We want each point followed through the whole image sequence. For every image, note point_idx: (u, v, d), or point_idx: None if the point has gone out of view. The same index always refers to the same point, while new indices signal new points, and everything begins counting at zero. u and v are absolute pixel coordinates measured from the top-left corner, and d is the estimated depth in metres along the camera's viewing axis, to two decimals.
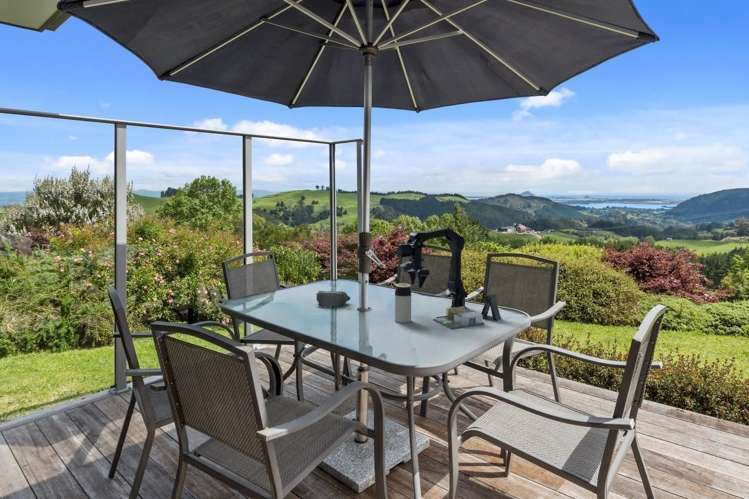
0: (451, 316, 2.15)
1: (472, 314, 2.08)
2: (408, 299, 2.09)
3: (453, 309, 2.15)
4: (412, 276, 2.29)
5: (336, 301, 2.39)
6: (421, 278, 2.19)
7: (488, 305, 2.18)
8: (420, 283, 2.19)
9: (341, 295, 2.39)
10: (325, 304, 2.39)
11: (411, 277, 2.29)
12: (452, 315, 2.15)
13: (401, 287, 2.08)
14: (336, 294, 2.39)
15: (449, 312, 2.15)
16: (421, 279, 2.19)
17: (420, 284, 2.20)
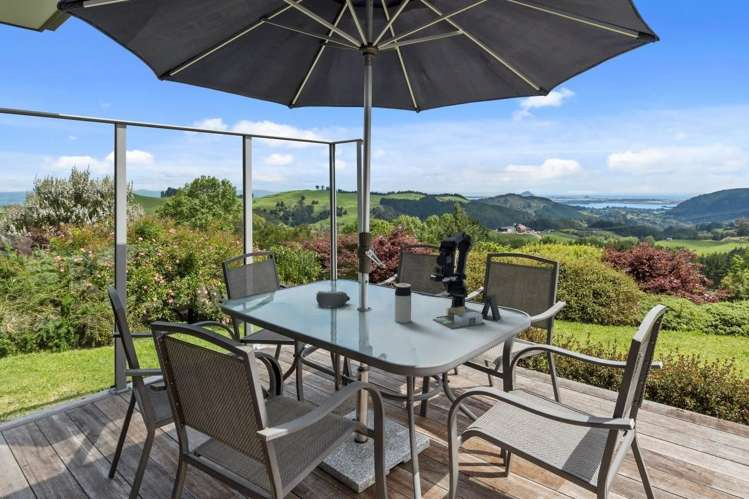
0: (451, 316, 2.15)
1: (472, 314, 2.08)
2: (408, 299, 2.09)
3: (453, 309, 2.15)
4: None
5: (336, 301, 2.38)
6: (446, 283, 2.21)
7: (488, 305, 2.18)
8: (445, 288, 2.22)
9: (341, 295, 2.38)
10: (325, 304, 2.39)
11: None
12: (452, 315, 2.15)
13: (401, 287, 2.08)
14: (336, 294, 2.38)
15: (449, 312, 2.15)
16: (446, 284, 2.21)
17: (446, 289, 2.22)
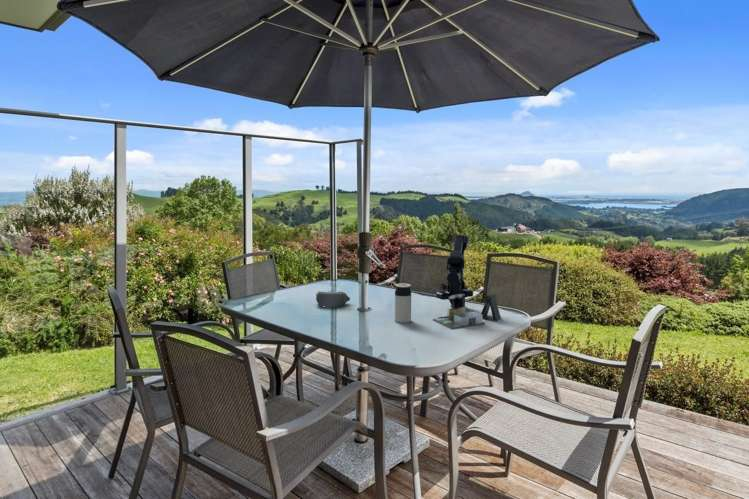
0: (452, 316, 2.15)
1: (472, 314, 2.08)
2: (408, 299, 2.09)
3: (454, 309, 2.15)
4: None
5: (336, 302, 2.38)
6: (452, 301, 2.17)
7: (488, 305, 2.18)
8: (452, 306, 2.17)
9: (341, 295, 2.38)
10: (325, 305, 2.38)
11: None
12: (453, 316, 2.15)
13: (401, 287, 2.08)
14: (336, 294, 2.38)
15: (450, 312, 2.14)
16: (452, 302, 2.17)
17: (452, 307, 2.17)
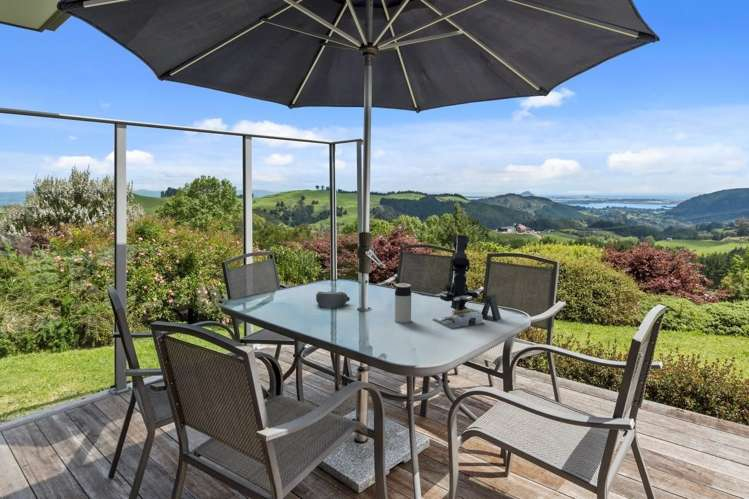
0: None
1: (472, 314, 2.08)
2: (408, 299, 2.09)
3: (459, 311, 2.11)
4: None
5: (336, 302, 2.37)
6: (456, 303, 2.13)
7: (488, 305, 2.18)
8: (456, 307, 2.14)
9: (341, 296, 2.37)
10: (325, 305, 2.38)
11: None
12: None
13: (401, 287, 2.08)
14: (336, 295, 2.37)
15: None
16: (456, 304, 2.13)
17: (457, 308, 2.14)
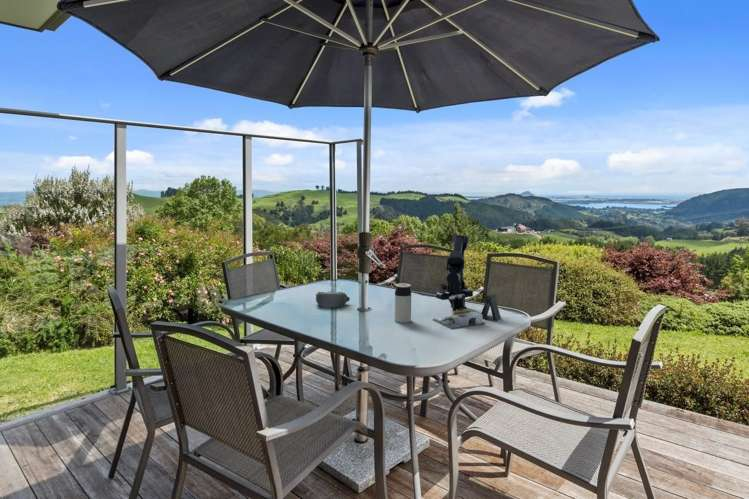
0: None
1: (472, 314, 2.08)
2: (408, 299, 2.09)
3: (459, 311, 2.11)
4: None
5: (336, 302, 2.37)
6: (452, 301, 2.17)
7: (488, 305, 2.18)
8: (452, 306, 2.18)
9: (341, 296, 2.37)
10: (325, 305, 2.37)
11: None
12: None
13: (401, 287, 2.08)
14: (336, 295, 2.37)
15: None
16: (452, 302, 2.17)
17: (452, 307, 2.18)
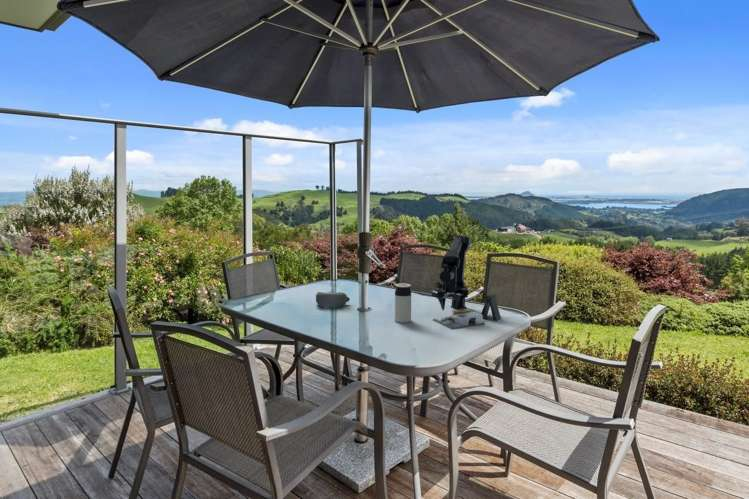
0: None
1: (472, 314, 2.08)
2: (408, 299, 2.09)
3: (459, 311, 2.11)
4: (456, 300, 2.23)
5: (336, 302, 2.36)
6: (441, 300, 2.19)
7: (488, 305, 2.18)
8: (441, 305, 2.19)
9: (341, 296, 2.36)
10: (325, 305, 2.37)
11: (456, 300, 2.23)
12: None
13: (401, 287, 2.08)
14: (336, 295, 2.36)
15: None
16: (441, 301, 2.19)
17: (441, 306, 2.19)
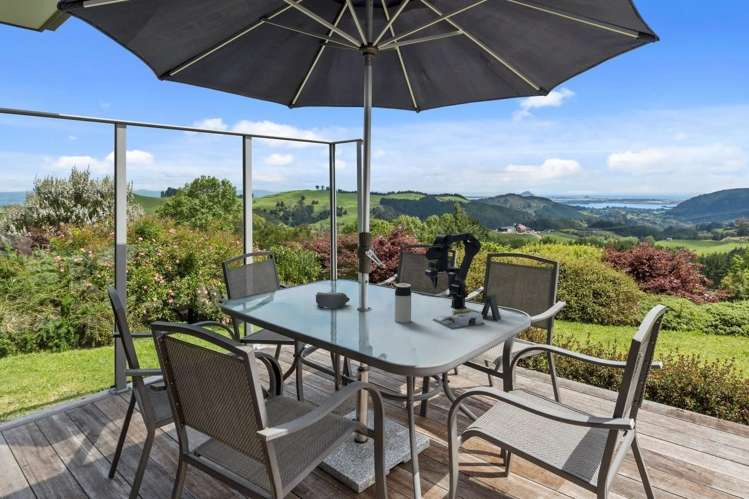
0: None
1: (472, 314, 2.08)
2: (408, 299, 2.09)
3: (459, 311, 2.11)
4: (449, 278, 2.30)
5: (336, 303, 2.36)
6: (433, 279, 2.25)
7: (488, 305, 2.18)
8: (433, 283, 2.26)
9: (341, 296, 2.36)
10: (325, 306, 2.36)
11: (449, 279, 2.31)
12: None
13: (401, 287, 2.08)
14: (336, 295, 2.36)
15: None
16: (433, 280, 2.25)
17: (433, 284, 2.26)
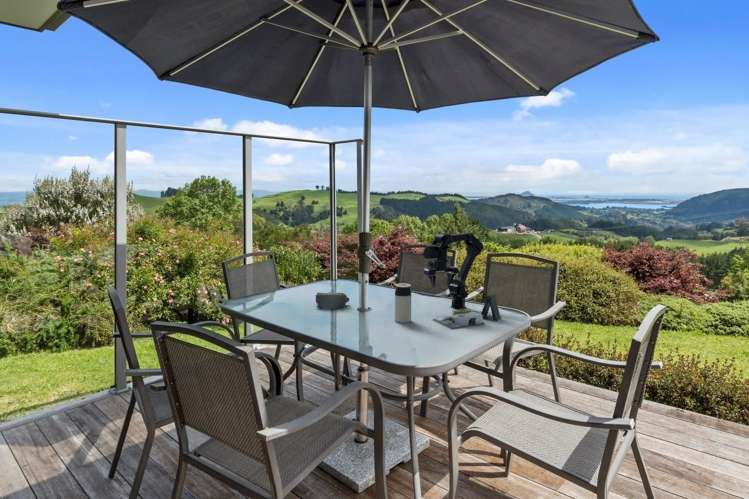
0: None
1: (472, 314, 2.08)
2: (408, 299, 2.09)
3: (459, 311, 2.11)
4: (448, 278, 2.31)
5: (336, 303, 2.35)
6: (431, 278, 2.27)
7: (488, 305, 2.18)
8: (431, 282, 2.27)
9: (341, 296, 2.35)
10: (325, 306, 2.36)
11: (447, 278, 2.32)
12: None
13: (401, 287, 2.08)
14: (336, 295, 2.35)
15: None
16: (431, 279, 2.27)
17: (432, 283, 2.27)
